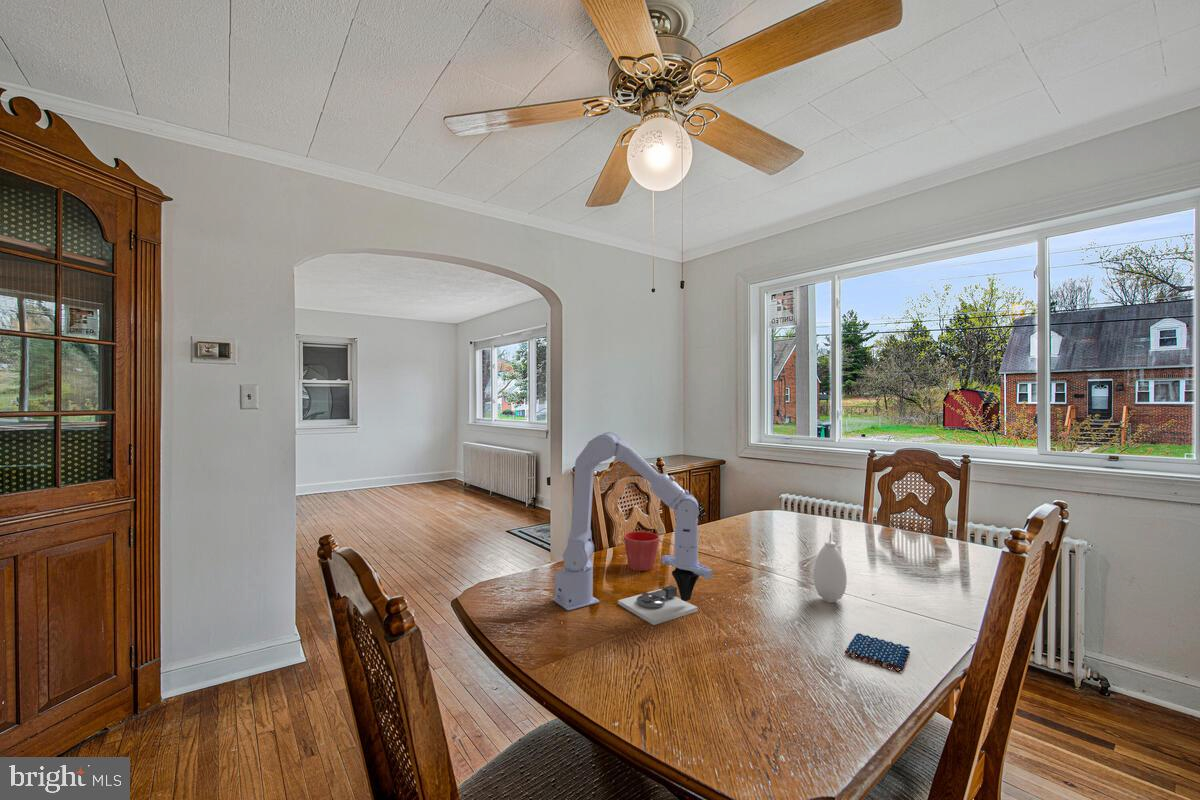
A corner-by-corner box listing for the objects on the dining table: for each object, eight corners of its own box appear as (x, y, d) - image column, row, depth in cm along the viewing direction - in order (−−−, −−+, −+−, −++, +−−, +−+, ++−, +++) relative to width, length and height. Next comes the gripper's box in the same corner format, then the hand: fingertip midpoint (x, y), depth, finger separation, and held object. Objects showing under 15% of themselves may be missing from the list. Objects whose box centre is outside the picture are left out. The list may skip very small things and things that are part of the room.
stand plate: (653, 625, 116) (653, 620, 116) (618, 604, 128) (618, 599, 128) (697, 611, 124) (697, 606, 124) (660, 592, 136) (660, 588, 136)
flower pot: (647, 575, 149) (647, 542, 149) (616, 567, 155) (617, 536, 155) (665, 566, 157) (665, 535, 157) (635, 559, 164) (636, 529, 164)
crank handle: (648, 610, 121) (648, 600, 121) (631, 600, 127) (631, 591, 127) (683, 600, 127) (683, 590, 127) (665, 591, 133) (665, 582, 133)
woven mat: (854, 639, 111) (854, 630, 111) (910, 655, 105) (910, 645, 105) (842, 658, 103) (842, 648, 103) (902, 676, 97) (902, 665, 97)
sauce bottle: (850, 608, 126) (850, 537, 126) (816, 606, 128) (817, 535, 128) (841, 596, 134) (842, 529, 134) (810, 594, 135) (811, 527, 135)
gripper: (720, 548, 122) (719, 604, 122) (674, 535, 133) (674, 587, 133) (702, 554, 117) (701, 612, 117) (656, 540, 128) (655, 593, 128)
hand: (685, 599), depth 125 cm, fingers closed
